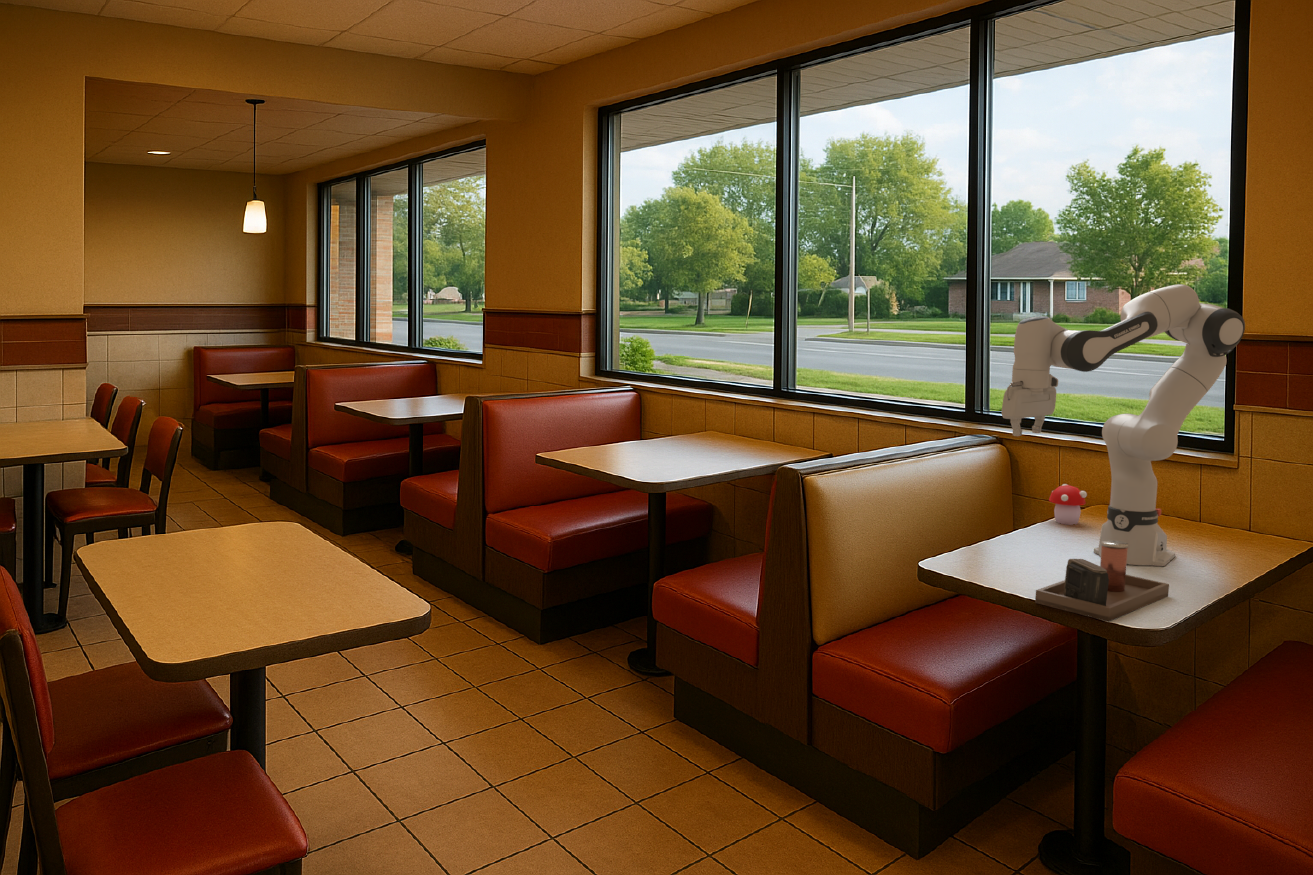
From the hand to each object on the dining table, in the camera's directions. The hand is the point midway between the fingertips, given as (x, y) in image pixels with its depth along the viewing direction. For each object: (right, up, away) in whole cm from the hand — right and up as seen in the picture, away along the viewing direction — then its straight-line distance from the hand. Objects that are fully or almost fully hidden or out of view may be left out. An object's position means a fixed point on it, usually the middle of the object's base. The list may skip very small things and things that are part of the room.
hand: (1026, 434), depth 248 cm
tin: (+14, -37, -17) cm, 43 cm away
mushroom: (+35, -28, +59) cm, 74 cm away
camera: (+3, -40, -27) cm, 48 cm away
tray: (+9, -39, -22) cm, 45 cm away
